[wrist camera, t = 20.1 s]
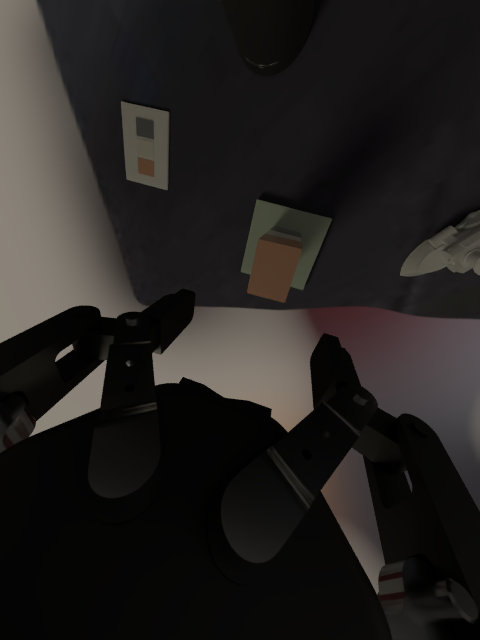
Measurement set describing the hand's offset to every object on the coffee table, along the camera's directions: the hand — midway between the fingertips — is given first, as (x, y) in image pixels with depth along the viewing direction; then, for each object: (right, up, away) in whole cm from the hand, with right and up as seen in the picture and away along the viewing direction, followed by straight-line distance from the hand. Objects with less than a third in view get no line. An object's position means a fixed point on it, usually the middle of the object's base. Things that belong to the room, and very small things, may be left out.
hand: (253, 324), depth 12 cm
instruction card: (-16, +28, +21) cm, 39 cm away
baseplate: (+7, +13, +23) cm, 27 cm away
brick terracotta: (+4, +8, +14) cm, 16 cm away
